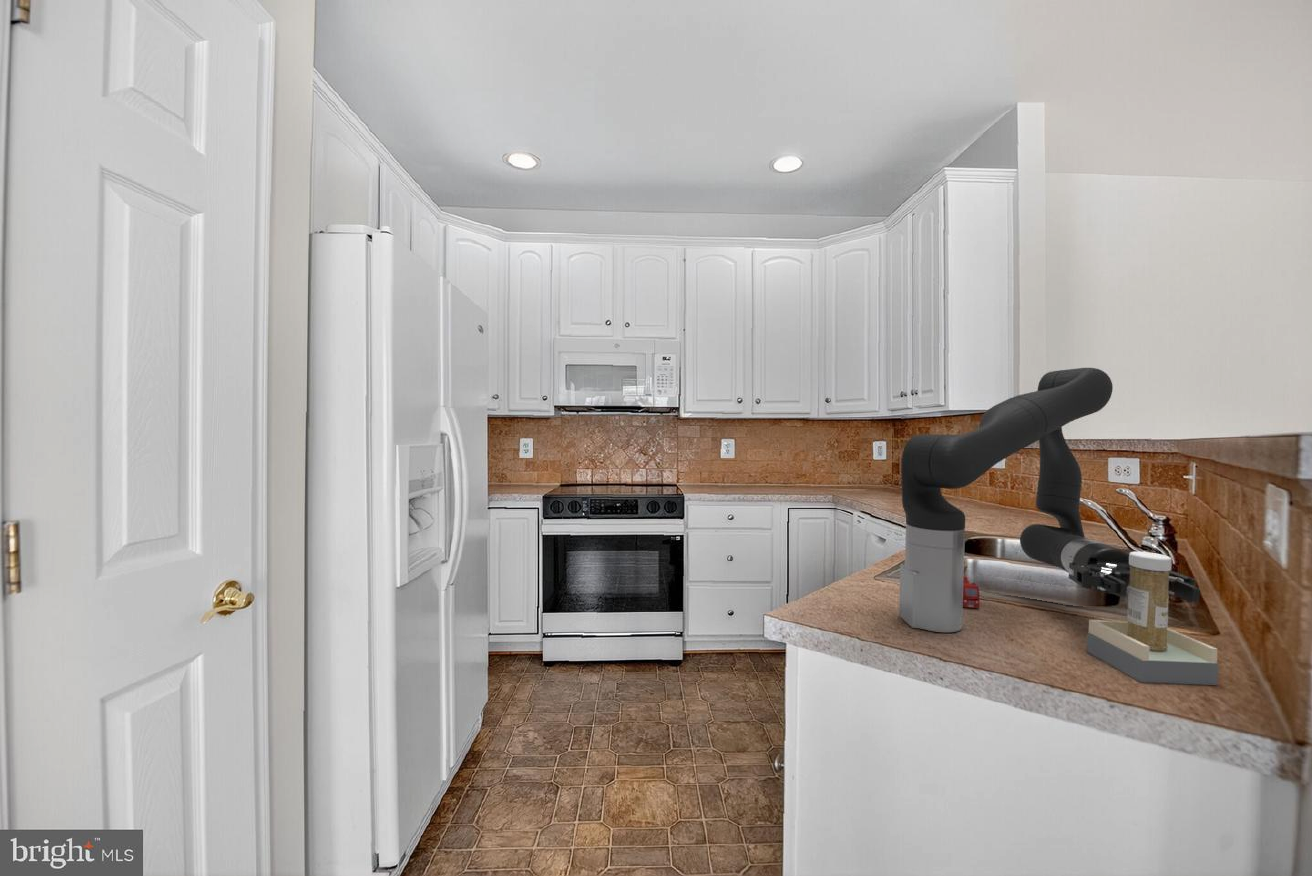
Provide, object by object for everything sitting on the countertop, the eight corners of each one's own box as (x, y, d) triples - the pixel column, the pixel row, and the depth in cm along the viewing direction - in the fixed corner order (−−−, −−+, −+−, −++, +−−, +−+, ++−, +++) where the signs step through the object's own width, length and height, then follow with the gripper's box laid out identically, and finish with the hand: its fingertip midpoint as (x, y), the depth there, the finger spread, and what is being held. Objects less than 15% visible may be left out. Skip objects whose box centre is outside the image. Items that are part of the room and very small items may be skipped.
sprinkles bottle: (1174, 654, 76) (1178, 559, 75) (1133, 648, 77) (1138, 556, 77) (1157, 642, 80) (1161, 552, 80) (1119, 637, 82) (1123, 549, 81)
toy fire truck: (962, 609, 103) (963, 558, 103) (939, 587, 116) (940, 543, 116) (981, 610, 102) (983, 559, 102) (956, 589, 116) (957, 544, 115)
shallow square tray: (1140, 682, 74) (1141, 645, 74) (1086, 651, 84) (1087, 619, 84) (1217, 685, 73) (1219, 648, 73) (1154, 653, 83) (1155, 621, 83)
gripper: (1049, 539, 94) (1101, 562, 78) (1147, 545, 90) (1222, 570, 75) (1048, 582, 94) (1099, 614, 78) (1145, 589, 91) (1219, 624, 75)
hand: (1159, 592), depth 77 cm, fingers open, 8 cm apart
